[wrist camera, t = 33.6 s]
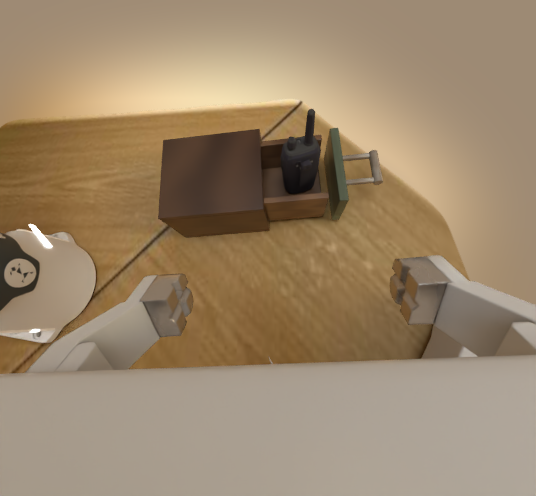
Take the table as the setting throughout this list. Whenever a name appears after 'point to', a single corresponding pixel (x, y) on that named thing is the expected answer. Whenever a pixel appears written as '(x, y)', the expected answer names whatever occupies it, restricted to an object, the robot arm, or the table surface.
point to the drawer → (313, 201)
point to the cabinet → (213, 184)
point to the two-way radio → (301, 159)
